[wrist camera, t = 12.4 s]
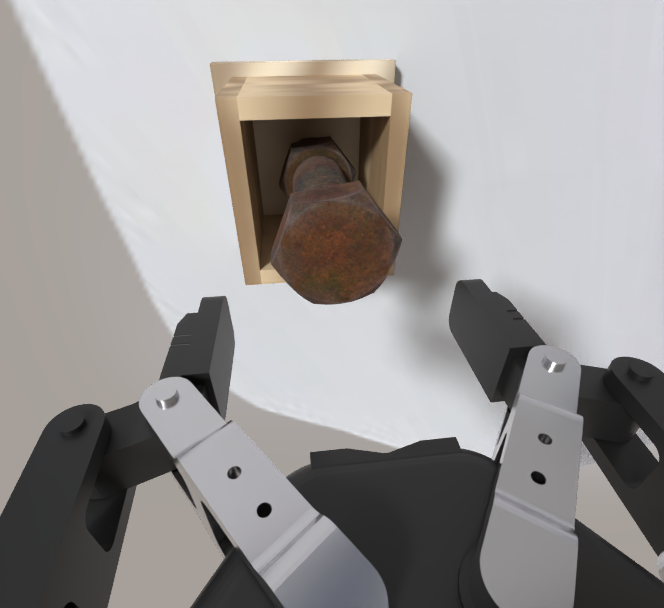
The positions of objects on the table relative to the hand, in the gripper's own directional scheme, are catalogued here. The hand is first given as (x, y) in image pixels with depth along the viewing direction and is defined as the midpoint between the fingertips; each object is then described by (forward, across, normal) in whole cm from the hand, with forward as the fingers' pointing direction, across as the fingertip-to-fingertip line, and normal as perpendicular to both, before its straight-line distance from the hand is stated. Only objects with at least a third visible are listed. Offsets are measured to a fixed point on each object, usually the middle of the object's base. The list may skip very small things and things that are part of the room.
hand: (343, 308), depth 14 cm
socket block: (+20, 0, 0) cm, 20 cm away
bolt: (+19, 0, 0) cm, 19 cm away
